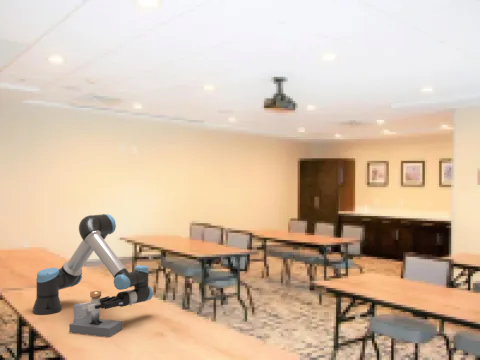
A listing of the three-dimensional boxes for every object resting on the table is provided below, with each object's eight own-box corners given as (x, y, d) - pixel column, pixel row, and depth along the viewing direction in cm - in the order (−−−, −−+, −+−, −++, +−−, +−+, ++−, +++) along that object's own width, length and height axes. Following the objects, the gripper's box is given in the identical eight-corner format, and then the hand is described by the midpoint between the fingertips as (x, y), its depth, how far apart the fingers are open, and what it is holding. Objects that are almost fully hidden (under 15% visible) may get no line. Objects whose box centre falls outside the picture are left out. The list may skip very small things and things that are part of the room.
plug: (87, 325, 216) (88, 293, 216) (93, 322, 221) (94, 290, 221) (96, 326, 215) (97, 293, 215) (102, 323, 220) (103, 291, 220)
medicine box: (91, 320, 235) (91, 304, 235) (86, 322, 230) (86, 306, 231) (78, 319, 237) (79, 302, 237) (73, 321, 233) (73, 305, 233)
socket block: (69, 332, 215) (69, 324, 215) (84, 325, 227) (84, 317, 227) (109, 337, 209) (109, 328, 209) (122, 329, 221) (122, 321, 221)
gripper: (136, 308, 226) (95, 318, 208) (116, 302, 237) (76, 311, 219) (136, 293, 226) (95, 303, 209) (116, 288, 237) (76, 296, 220)
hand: (85, 307), depth 214 cm, fingers closed on plug, 4 cm apart
